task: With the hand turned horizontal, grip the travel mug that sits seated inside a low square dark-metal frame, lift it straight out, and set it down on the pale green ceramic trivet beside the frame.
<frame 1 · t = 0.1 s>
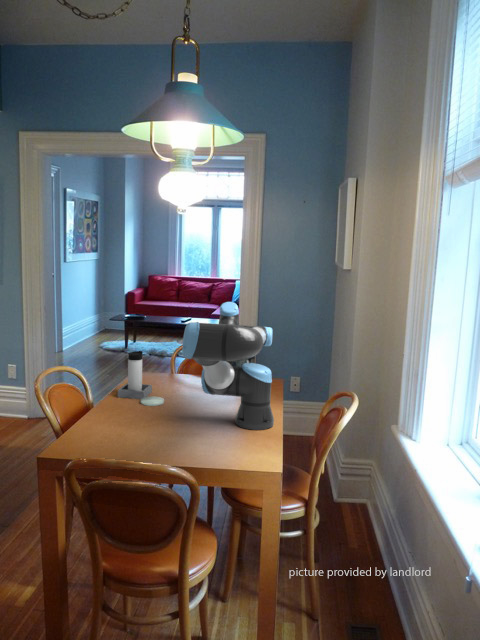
hand: (233, 366, 226), 15 cm above the table, tool tilted 35°, fingers open, 13 cm apart
square frame: (135, 394, 230), on the table
beer stein: (239, 383, 257), on the table
trivet: (152, 402, 219), on the table
travel mug: (135, 395, 230), resting in square frame
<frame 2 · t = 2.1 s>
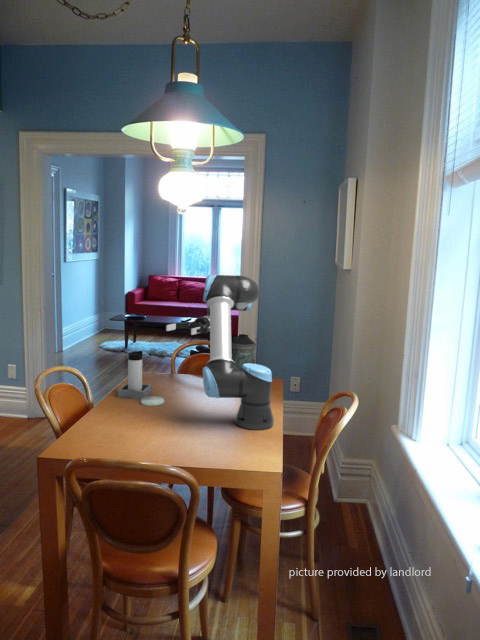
hand: (179, 329, 228), 30 cm above the table, tool horizontal, fingers open, 13 cm apart
nothing on the table moved.
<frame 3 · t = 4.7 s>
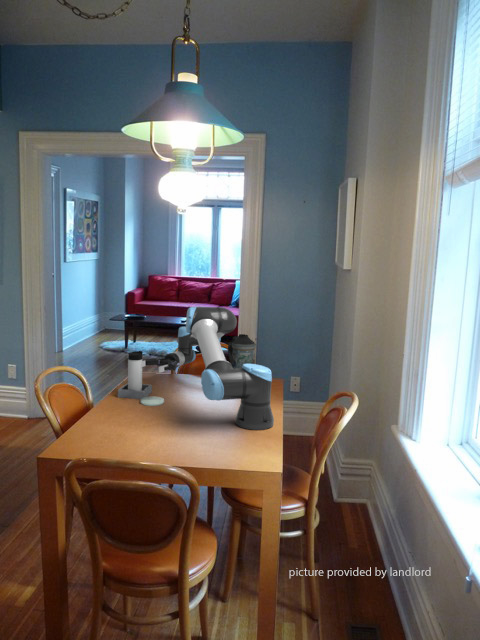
hand: (147, 367, 236), 11 cm above the table, tool horizontal, fingers open, 13 cm apart
nothing on the table moved.
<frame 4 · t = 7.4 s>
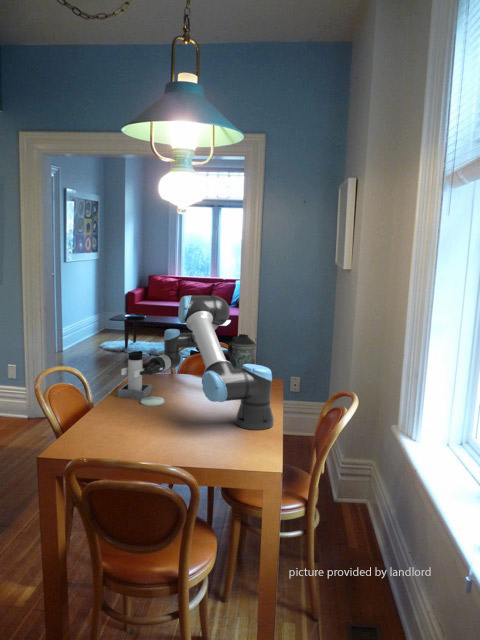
hand: (128, 373, 224), 11 cm above the table, tool horizontal, fingers closed on travel mug, 6 cm apart
travel mug: (135, 395, 230), resting in square frame, touching gripper
everything else where it was.
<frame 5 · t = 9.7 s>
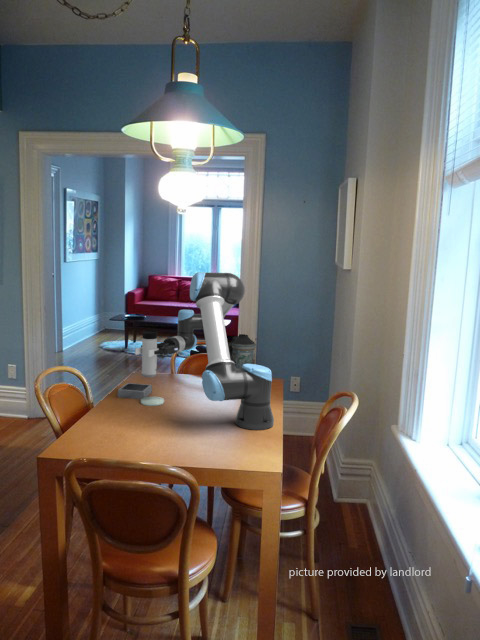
hand: (142, 352, 214), 22 cm above the table, tool horizontal, fingers closed on travel mug, 6 cm apart
travel mug: (149, 376, 220), point 11 cm above the table, touching gripper
everything else where it was.
when the fingers open (13 cm above the table, at t = 12.1 s): travel mug stays where it is, resting on trivet.
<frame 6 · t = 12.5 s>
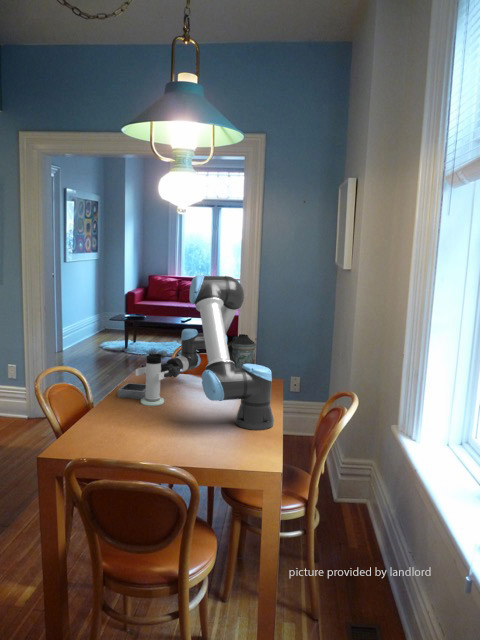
hand: (147, 374, 214), 13 cm above the table, tool horizontal, fingers open, 11 cm apart
travel mug: (152, 400, 219), point 1 cm above the table, touching trivet
everything else where it was.
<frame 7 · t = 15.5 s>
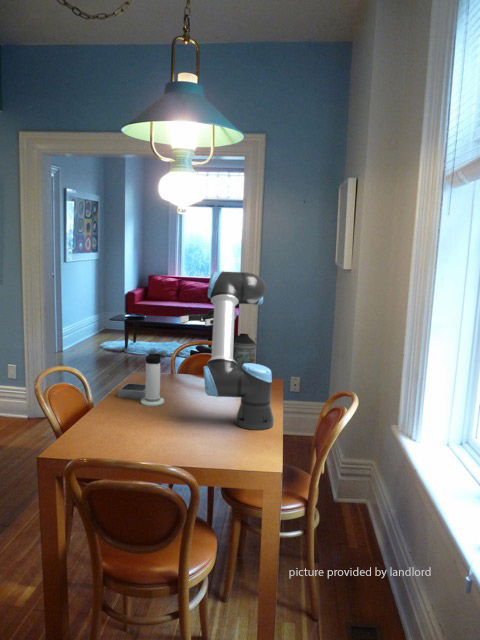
hand: (192, 321, 226), 35 cm above the table, tool horizontal, fingers open, 13 cm apart
beer stein: (239, 382, 259), on the table
everything else where it was.
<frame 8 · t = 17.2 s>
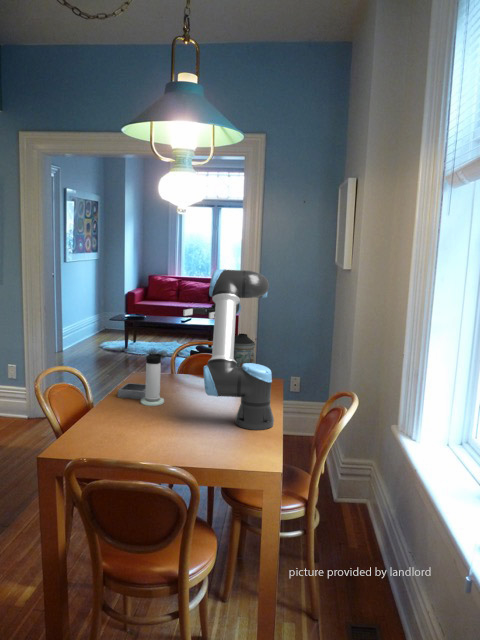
hand: (196, 314, 226), 38 cm above the table, tool horizontal, fingers open, 13 cm apart
nothing on the table moved.
at the end: travel mug 0.2 cm from the trivet (horizontally); travel mug tilted 0°; travel mug point 1.0 cm above the table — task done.
